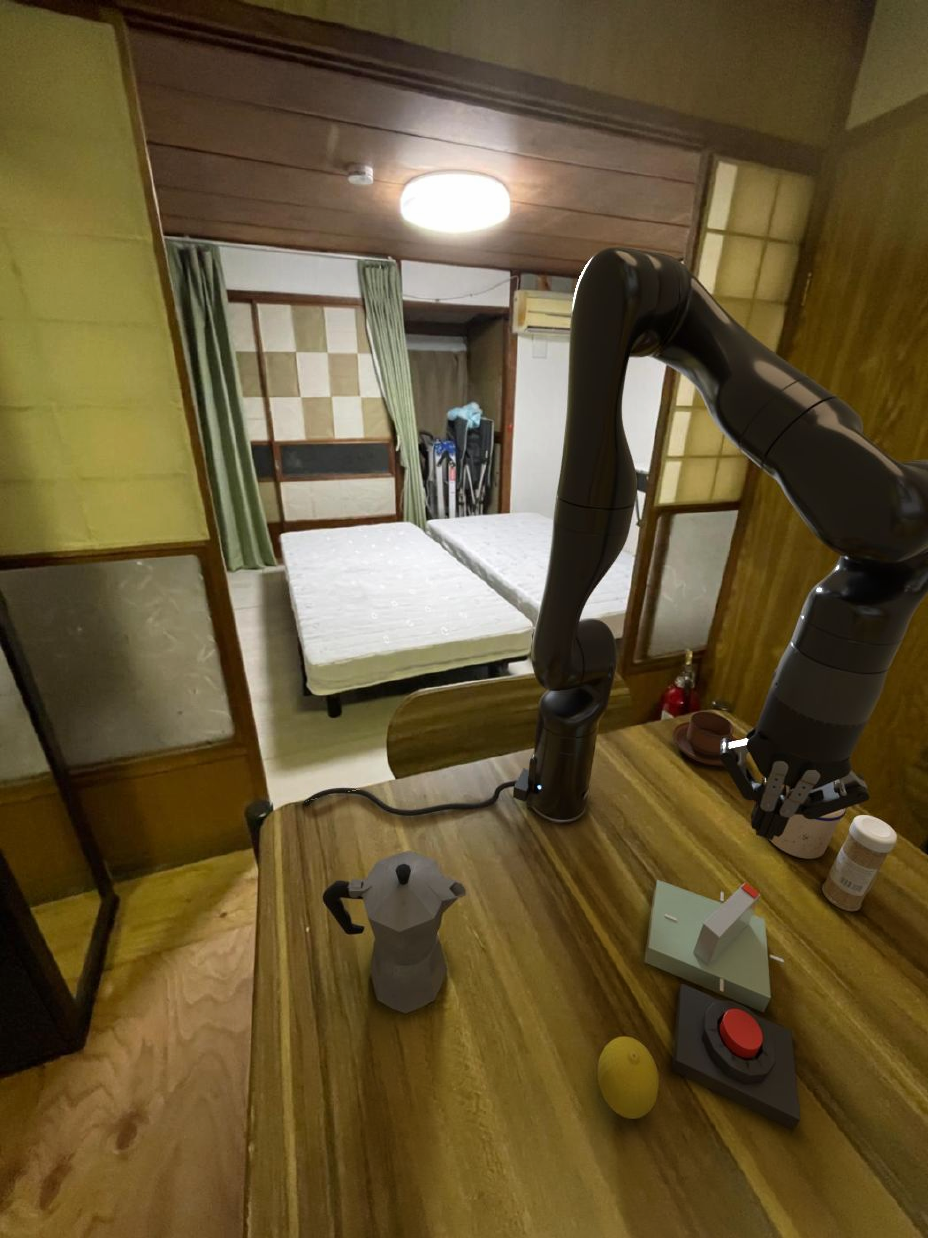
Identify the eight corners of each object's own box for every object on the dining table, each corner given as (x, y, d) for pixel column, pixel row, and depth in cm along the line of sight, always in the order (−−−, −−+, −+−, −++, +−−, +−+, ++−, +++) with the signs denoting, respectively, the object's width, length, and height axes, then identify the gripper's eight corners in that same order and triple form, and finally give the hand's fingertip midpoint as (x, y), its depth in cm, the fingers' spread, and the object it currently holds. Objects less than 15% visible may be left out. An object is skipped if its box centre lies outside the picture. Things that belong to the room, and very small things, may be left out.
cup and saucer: (738, 740, 100) (747, 714, 98) (739, 780, 91) (749, 752, 88) (674, 723, 105) (680, 698, 102) (668, 759, 95) (675, 733, 92)
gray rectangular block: (708, 967, 59) (720, 936, 57) (692, 952, 61) (703, 921, 58) (749, 923, 64) (761, 893, 61) (733, 911, 65) (745, 881, 63)
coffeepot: (463, 932, 66) (466, 832, 58) (464, 1016, 57) (466, 912, 49) (343, 931, 65) (328, 831, 57) (325, 1015, 57) (305, 911, 49)
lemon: (586, 1065, 53) (595, 1023, 50) (637, 1060, 54) (650, 1018, 50) (603, 1137, 48) (615, 1096, 45) (660, 1131, 49) (676, 1090, 45)
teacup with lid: (792, 808, 85) (814, 754, 80) (841, 854, 77) (869, 796, 72) (731, 823, 82) (750, 767, 77) (776, 872, 74) (800, 813, 69)
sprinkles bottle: (865, 901, 70) (904, 832, 64) (850, 919, 68) (889, 848, 62) (829, 876, 73) (863, 808, 67) (814, 892, 71) (847, 823, 65)
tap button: (719, 1047, 52) (723, 1038, 51) (719, 1011, 55) (723, 1002, 54) (759, 1066, 50) (764, 1057, 50) (757, 1027, 53) (761, 1018, 53)
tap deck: (642, 975, 61) (646, 959, 60) (654, 884, 72) (658, 869, 71) (781, 1035, 56) (789, 1019, 54) (771, 927, 67) (778, 912, 65)
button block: (671, 1071, 53) (679, 1051, 51) (677, 994, 59) (684, 973, 58) (793, 1131, 49) (806, 1111, 47) (785, 1041, 55) (796, 1021, 54)
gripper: (737, 697, 45) (693, 835, 53) (925, 743, 40) (844, 887, 48) (737, 657, 51) (697, 786, 59) (900, 692, 46) (832, 828, 54)
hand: (763, 831), depth 53 cm, fingers closed
